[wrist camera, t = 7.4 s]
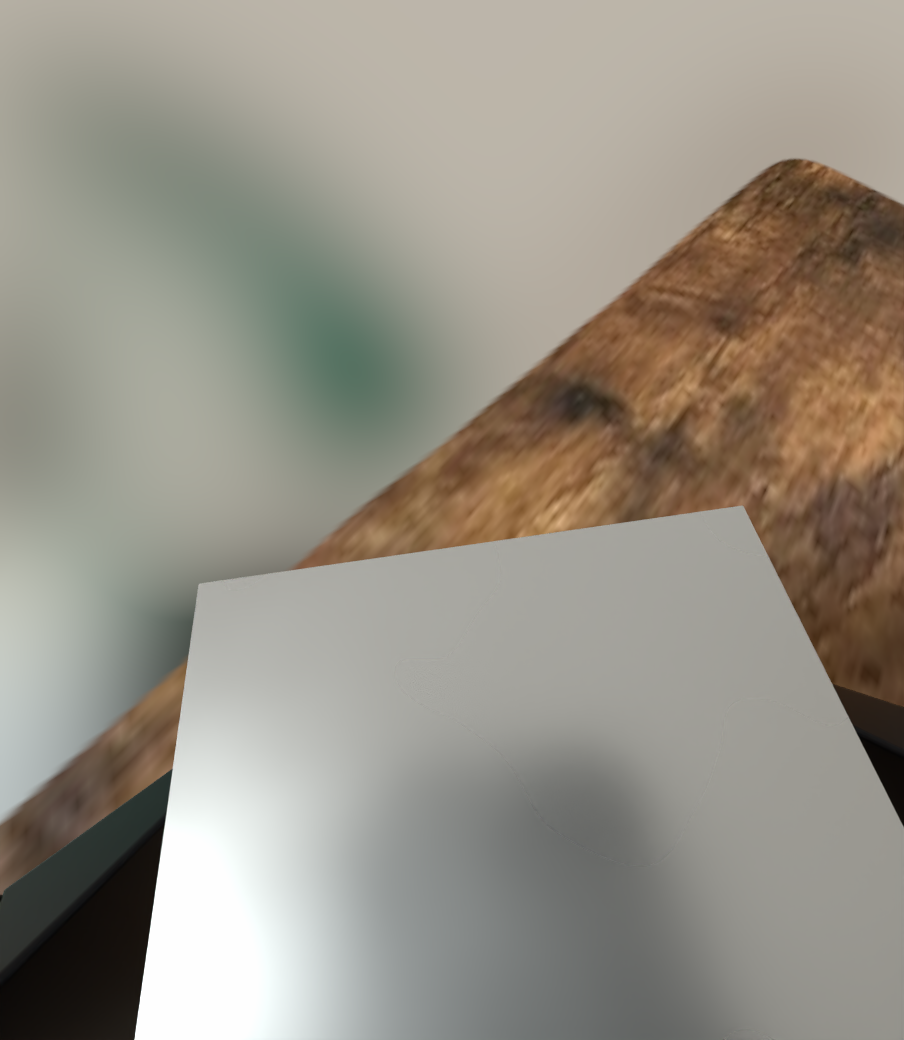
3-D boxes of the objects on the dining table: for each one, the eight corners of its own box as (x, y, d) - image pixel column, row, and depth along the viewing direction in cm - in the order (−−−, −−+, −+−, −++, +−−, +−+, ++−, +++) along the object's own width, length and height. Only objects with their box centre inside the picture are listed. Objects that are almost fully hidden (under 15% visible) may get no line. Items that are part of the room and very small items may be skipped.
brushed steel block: (600, 884, 14) (1069, 1159, 3) (417, 912, 14) (98, 1306, 3) (564, 723, 16) (736, 491, 5) (405, 746, 16) (201, 568, 5)
